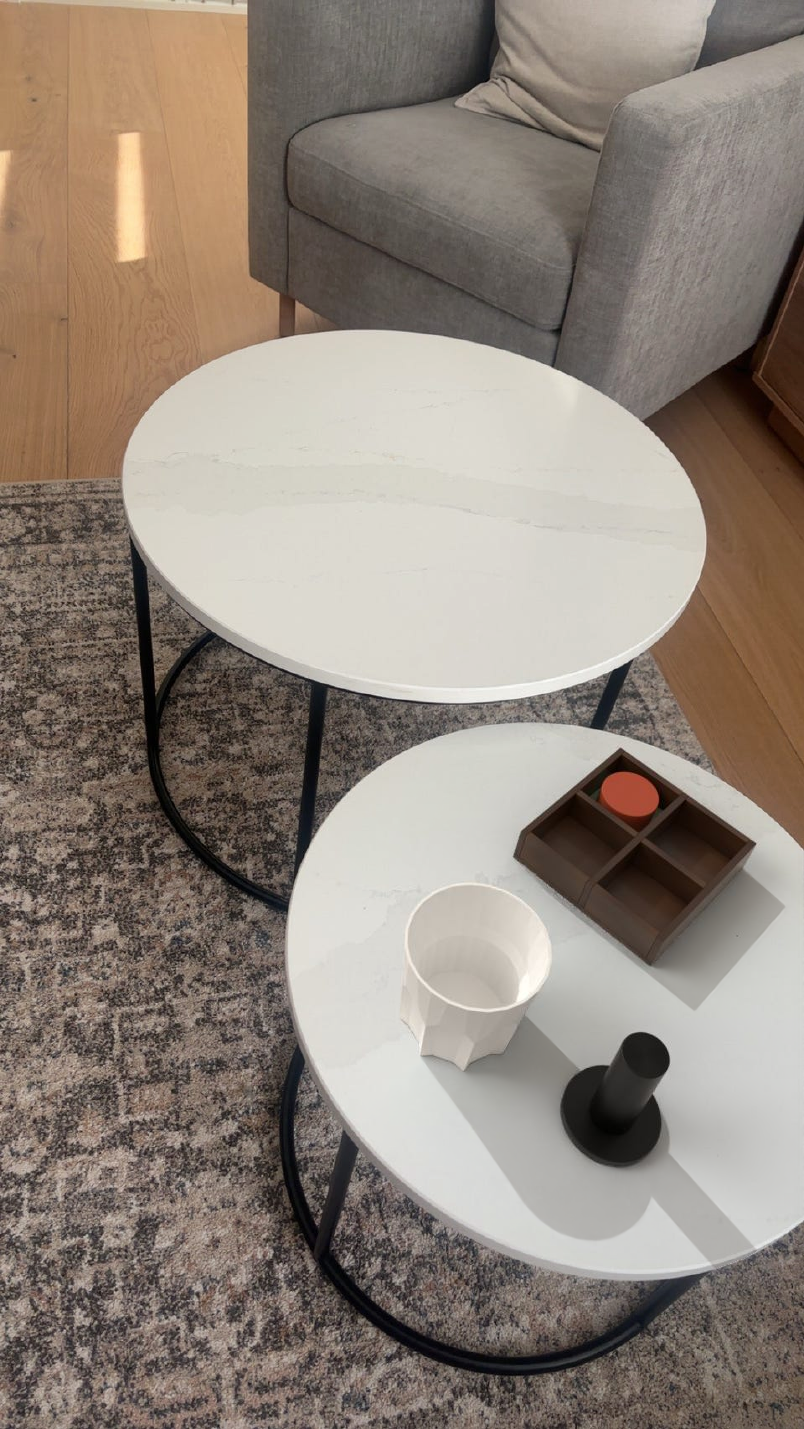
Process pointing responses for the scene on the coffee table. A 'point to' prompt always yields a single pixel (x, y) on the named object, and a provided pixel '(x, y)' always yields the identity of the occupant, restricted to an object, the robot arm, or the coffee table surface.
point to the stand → (617, 1103)
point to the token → (629, 799)
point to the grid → (634, 859)
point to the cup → (471, 970)
